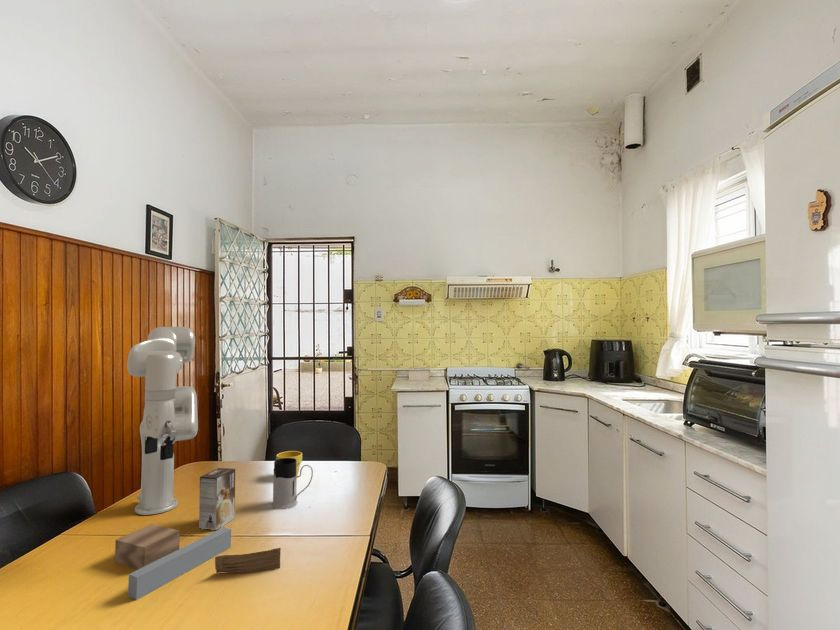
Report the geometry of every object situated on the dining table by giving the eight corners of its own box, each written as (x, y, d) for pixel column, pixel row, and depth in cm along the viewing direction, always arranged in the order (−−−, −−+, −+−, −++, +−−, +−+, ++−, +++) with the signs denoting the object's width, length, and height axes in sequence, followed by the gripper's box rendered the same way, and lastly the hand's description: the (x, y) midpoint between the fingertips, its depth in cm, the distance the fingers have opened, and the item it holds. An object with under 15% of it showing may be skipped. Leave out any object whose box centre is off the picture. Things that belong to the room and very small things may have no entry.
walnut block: (114, 563, 111) (115, 539, 112) (150, 545, 121) (151, 524, 121) (144, 571, 107) (144, 547, 108) (179, 552, 117) (179, 530, 117)
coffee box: (217, 516, 139) (219, 467, 140) (235, 518, 138) (236, 468, 139) (197, 529, 130) (199, 476, 131) (216, 531, 129) (217, 477, 130)
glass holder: (276, 499, 154) (277, 457, 155) (315, 499, 154) (316, 457, 154) (267, 509, 146) (268, 464, 146) (308, 509, 145) (309, 465, 146)
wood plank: (280, 565, 110) (280, 545, 111) (279, 569, 108) (280, 549, 109) (216, 573, 107) (216, 553, 107) (214, 578, 105) (214, 557, 105)
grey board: (128, 596, 97) (128, 574, 97) (223, 545, 121) (223, 527, 121) (136, 600, 96) (137, 577, 96) (230, 547, 119) (231, 529, 120)
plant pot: (278, 474, 182) (279, 450, 182) (303, 473, 183) (304, 450, 183) (273, 482, 171) (273, 457, 172) (299, 481, 172) (300, 457, 173)
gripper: (133, 394, 124) (131, 453, 124) (160, 400, 114) (158, 465, 114) (160, 391, 131) (158, 448, 130) (188, 397, 120) (187, 458, 120)
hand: (158, 455), depth 122 cm, fingers open, 9 cm apart
